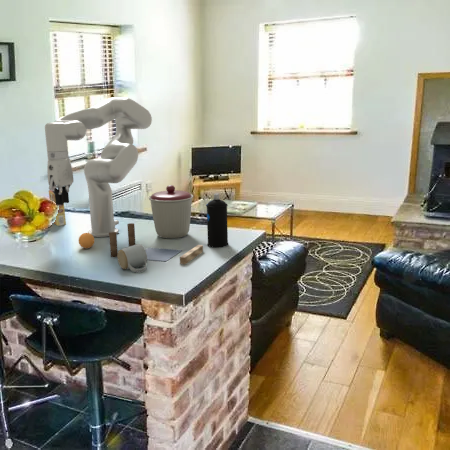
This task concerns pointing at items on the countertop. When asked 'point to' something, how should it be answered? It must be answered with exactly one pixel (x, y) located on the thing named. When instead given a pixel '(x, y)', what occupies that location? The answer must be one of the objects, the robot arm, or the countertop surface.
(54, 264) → the countertop surface
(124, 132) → the robot arm
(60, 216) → the candy box
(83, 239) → the ball
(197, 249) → the wall
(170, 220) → the canister
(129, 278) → the countertop surface
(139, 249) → the ceramic mug
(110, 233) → the post
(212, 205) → the aerosol can
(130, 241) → the post
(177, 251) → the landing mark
